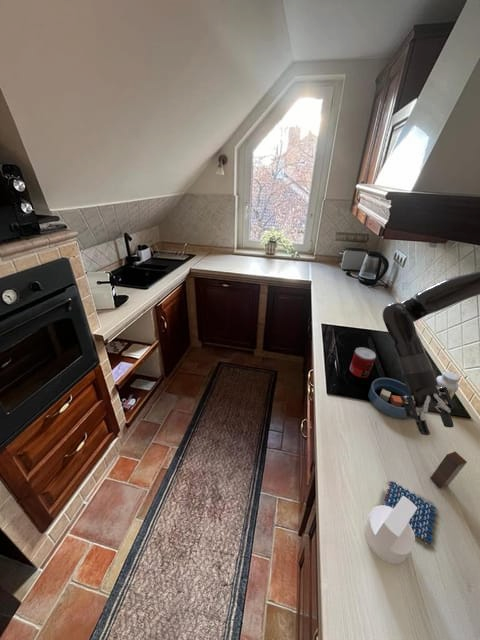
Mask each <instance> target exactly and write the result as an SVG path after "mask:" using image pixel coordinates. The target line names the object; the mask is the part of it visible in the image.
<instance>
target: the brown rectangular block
mask: <svg viewBox="0 0 480 640" xmlns="http://www.w3.org/2000/svg"><path fill="white" fill-rule="evenodd" d="M467 463H468V462H467V460H466V459H464V458H463V457H462V456H461V455H460V454H459V453H458V452H457V451H452V452H449V453H446V455H445V456H444V457H443V459H442V460H441V462H440V463H439V465H438V466H437V468H436V469H435V470H434V472H433V473H432V475H431V476H430V477H429V479H430V480H431V481H432V483H434V484H435V486H436V487H437V488H438V489H439V490H441V489H444V488H446V487H448V486H449V485H450V484H451V483H452V482H453V481H454V479H455V478H456V476H457V475H458V474H459V473H460V472H461V470H462V469H463V468H464V467H465V465H466V464H467Z"/></svg>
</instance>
